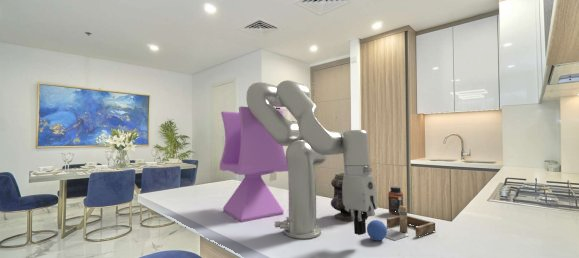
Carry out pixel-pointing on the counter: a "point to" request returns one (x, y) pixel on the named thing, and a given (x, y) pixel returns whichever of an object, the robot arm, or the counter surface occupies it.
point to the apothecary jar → (339, 199)
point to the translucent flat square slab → (394, 235)
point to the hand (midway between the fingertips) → (360, 233)
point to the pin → (403, 218)
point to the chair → (251, 165)
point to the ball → (376, 230)
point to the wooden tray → (422, 225)
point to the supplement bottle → (395, 200)
